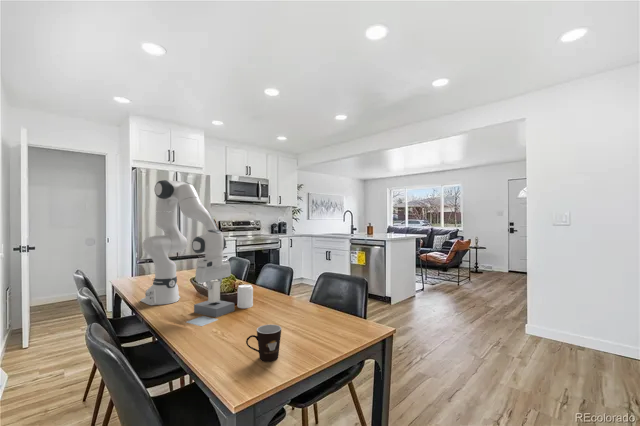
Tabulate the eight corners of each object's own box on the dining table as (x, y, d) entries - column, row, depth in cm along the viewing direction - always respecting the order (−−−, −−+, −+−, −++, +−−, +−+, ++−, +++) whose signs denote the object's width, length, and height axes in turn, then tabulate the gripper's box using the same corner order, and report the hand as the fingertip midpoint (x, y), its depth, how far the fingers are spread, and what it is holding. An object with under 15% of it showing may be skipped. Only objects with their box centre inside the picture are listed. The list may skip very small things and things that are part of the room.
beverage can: (254, 305, 166) (254, 284, 167) (249, 310, 158) (250, 287, 159) (240, 305, 167) (240, 284, 167) (235, 309, 159) (235, 287, 159)
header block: (193, 314, 152) (194, 304, 152) (212, 308, 162) (212, 299, 162) (216, 319, 144) (216, 309, 144) (234, 312, 154) (234, 302, 154)
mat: (185, 324, 137) (185, 322, 137) (203, 317, 146) (203, 315, 146) (201, 328, 132) (201, 326, 132) (219, 321, 141) (219, 319, 141)
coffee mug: (282, 351, 109) (282, 324, 109) (280, 363, 100) (280, 333, 100) (250, 352, 108) (250, 324, 109) (245, 363, 100) (245, 333, 100)
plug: (208, 301, 152) (208, 282, 153) (214, 299, 156) (214, 280, 156) (213, 302, 151) (213, 282, 151) (219, 300, 154) (219, 281, 154)
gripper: (225, 258, 164) (224, 283, 164) (193, 263, 146) (193, 291, 146) (233, 259, 161) (233, 285, 161) (202, 264, 143) (202, 293, 143)
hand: (214, 288), depth 153 cm, fingers closed on plug, 4 cm apart
